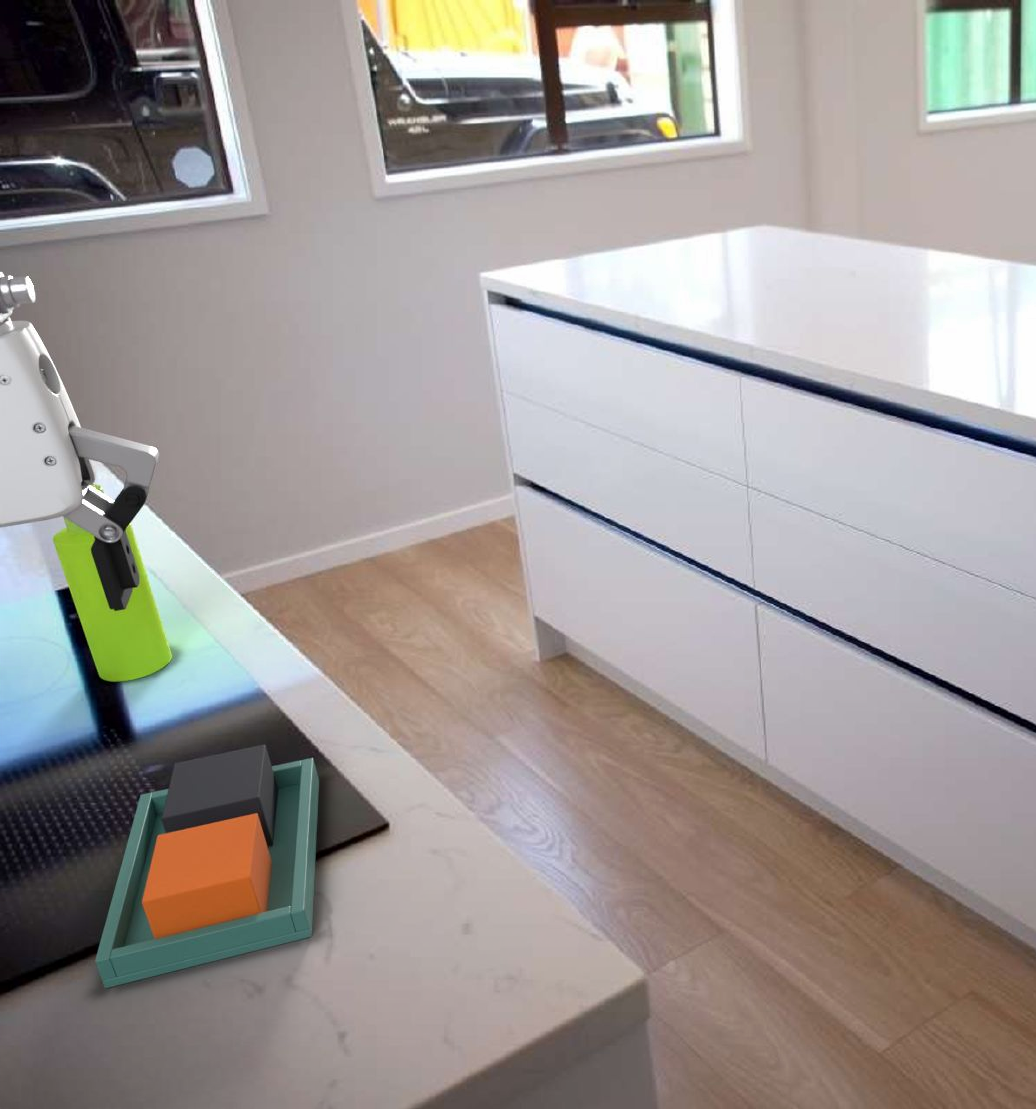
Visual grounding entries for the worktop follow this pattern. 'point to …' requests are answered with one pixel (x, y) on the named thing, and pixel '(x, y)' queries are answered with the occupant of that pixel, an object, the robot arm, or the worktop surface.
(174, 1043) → the worktop surface
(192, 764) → the dark grey block
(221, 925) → the tray
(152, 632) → the soap dispenser
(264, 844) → the orange block
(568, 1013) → the worktop surface
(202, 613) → the worktop surface
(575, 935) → the worktop surface
